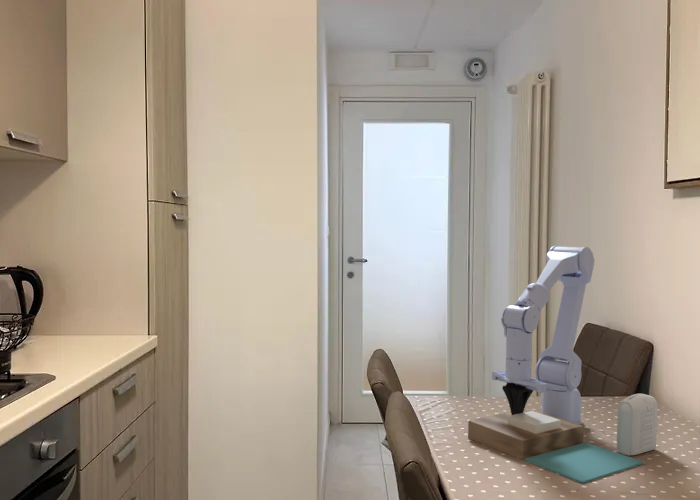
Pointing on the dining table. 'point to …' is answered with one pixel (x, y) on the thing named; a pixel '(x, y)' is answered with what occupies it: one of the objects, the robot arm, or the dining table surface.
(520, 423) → the coaster
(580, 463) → the mat
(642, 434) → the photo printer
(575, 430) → the wood grain panel
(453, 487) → the dining table surface
